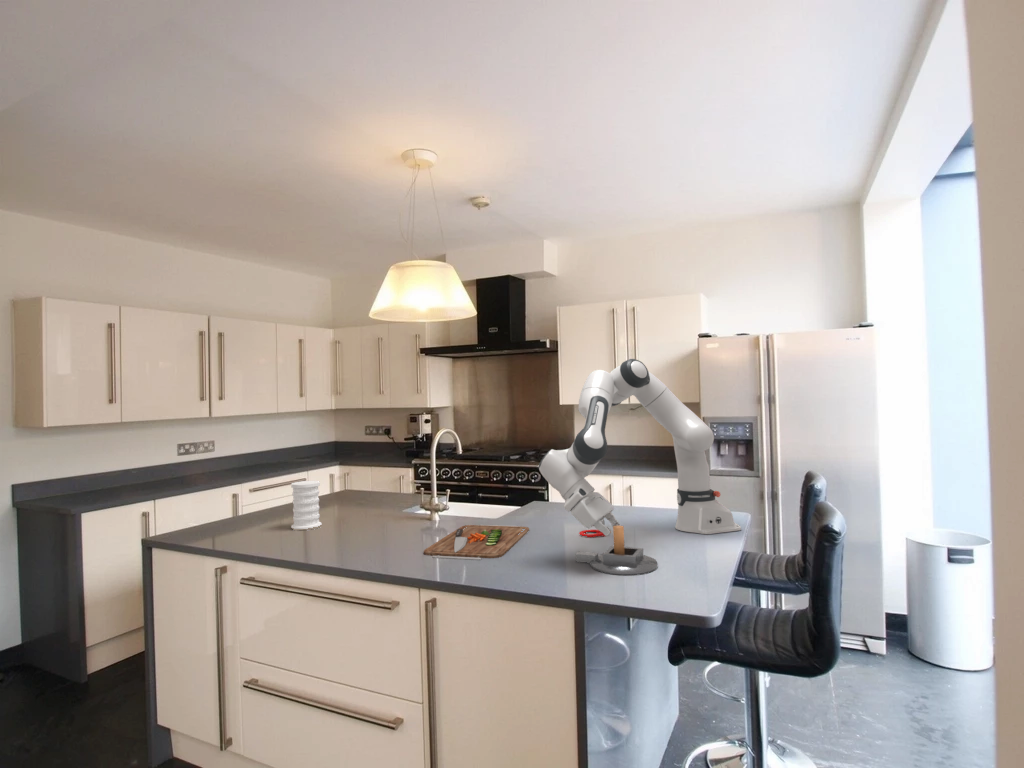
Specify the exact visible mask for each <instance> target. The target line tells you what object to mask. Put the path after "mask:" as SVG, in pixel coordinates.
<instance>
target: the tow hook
mask: <svg viewBox="0 0 1024 768" xmlns="http://www.w3.org/2000/svg"><path fill="white" fill-rule="evenodd" d="M601 522H602V524H603V525H605V519H604V518H603V519H602V520H601ZM605 526H606V525H605ZM586 532H596V533H590V534H589V533H586ZM584 533H585V534H584ZM579 534H580V535H582V536H587V537H586V538H597V537H604V536H605V535H604V534H603V533H602V532H601V531H599V530H598V529H584V530H581V531H579V533H578V535H579ZM580 535H579V536H580ZM582 536H581V537H582ZM596 536H597V537H596ZM605 537H606V536H605Z"/></svg>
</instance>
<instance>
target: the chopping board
mask: <svg viewBox="0 0 1024 768" xmlns="http://www.w3.org/2000/svg"><path fill="white" fill-rule="evenodd" d="M466 527H467V528H466ZM464 528H465V529H464ZM463 529H464V530H463ZM522 529H525V530H524V531H523V530H522ZM521 531H523V532H521ZM528 531H530V528H529V527H527V526H519V525H500V524H498V525H497V524H492V525H491V524H468V525H466V524H465V525H462V526H460V527H458V528H457V529H455V530H454V531H452V532H450V533H449V534H447V535H446V536H444V537H442V538H441V539H439V540H437V541H436V542H435V543H433V544H431V545H429V546H428V547H426V548H425V549H424V550H423V555H425V556H430V557H431V556H432V559H448V560H449V559H450V560H451V559H452V560H469V561H470V560H471V561H481V560H482V559H497V558H502V557H504V555H506V554H507V553H508V552H509V551H510V550H511V549H512V548H513V547H514V546H515V545H516V544H517V543H518V542H519V541H520V540H522V538H523V537H525V536H526V535H527V534H528V533H529V532H528ZM527 532H528V533H527ZM519 533H520V534H519ZM518 534H519V535H518Z"/></svg>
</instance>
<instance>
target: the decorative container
mask: <svg viewBox="0 0 1024 768" xmlns="http://www.w3.org/2000/svg"><path fill="white" fill-rule="evenodd" d="M320 484H321V482H320V481H319V480H302V481H296V482H291V484H290V486H291V488H292V492H291V493H292V494H291V495H292V497H293V499H292V504H293V507H292V511H293V517H292V520H293V524H291V528H294V529H308V528H313V527H318V526H320V525H322V524H323V523H322V522H321V521H320V517H321V514H320V513H319V512H320V505H319V504H320V503H319V502H320V498H319V493H320V490H319V486H320ZM322 526H323V525H322Z"/></svg>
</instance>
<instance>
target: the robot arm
mask: <svg viewBox="0 0 1024 768" xmlns="http://www.w3.org/2000/svg"><path fill="white" fill-rule="evenodd" d="M632 396H634V397H635V398H636V400H637V401H638V402H639V403H640V404H641V406H642V407H643V408H644V409H645V410H646V411H647V412H648V413H649V415H651V417H653V419H655V421H656V422H657V423H658V424H659V425H660V426H662V427H663V428H664V429H665V430H666V431H667V432H668V433H669V434H671V437H672V441H673V449H674V455H675V461H676V462H675V463H676V468H677V470H676V471H677V490H676V494H677V495H676V502H677V504H678V505H677V516H676V523H675V526H674V528H675V529H676V530H678V531H681V532H686V533H695V534H702V535H712V534H721V533H729V532H737V531H741V530H742V526H741V525H739V524H738V523H736V522H735V520H734V516H733V513H732V511H731V510H730V509H729V508H727V507H726V506H725V505H724V504H723V503H721V502H719V501H718V500H717V499H716V498H720V497H721V493H720V491H719V490H718V491H717V490H713V489H711V482H710V481H711V479H710V478H711V477H710V475H711V474H710V465H709V463H708V460H707V456H706V455H707V454H706V451H707V450H709V449H710V448H711V447H712V445H713V444H714V441H715V436H714V431H713V430H712V428H710V426H708V425H707V424H706V423H705V421H703V420H702V419H701V418H700V417H699V416H698V415H697V414H696V413H695V412H694V411H692V410H691V409H690V408H689V407H688V406H686V404H685V403H683V402H682V401H681V400H680V399H679V398H678V397H677V396H676V395H675V394H674V392H672V391H671V389H669V386H667V385H666V384H665V383H664V382H663V381H662V380H660V379H659V378H658V377H657V376H656V375H654V373H652V372H651V371H649V370H648V368H647V366H646V364H645V363H643V362H642V361H640V360H639V359H636V358H629V359H627V360H624V361H622V362H621V364H619V365H618V366H616V367H615V368H613V369H612V370H611V371H610V372H608V371H607V370H603V369H595V370H592V372H590V373H589V374H588V376H587V377H586V379H585V381H584V384H583V385H582V388H581V392H580V395H579V399H578V411H579V414H580V415H581V416H582V417H583V418H584V419H585V422H584V426H583V428H582V429H581V430H579V432H578V433H577V434H576V436H575V439H574V440H573V442H572V444H571V446H570V447H569V448H566V449H557V450H556V449H553V448H551V449H550V450H548V451H547V452H546V453H545V454H544V455H543V457H542V459H541V460H540V462H539V463H538V464H539V465H538V470H539V472H540V474H541V475H542V477H543V478H544V479H545V481H547V483H548V484H549V485H550V486H551V487H552V489H555V490H556V491H557V492H559V493H558V494H560V496H561V498H562V499H563V500H564V505H563V508H564V509H565V510H566V511H567V512H568V513H569V512H570V513H571V515H572V516H573V518H575V519H576V520H577V521H578V522H579V523H580V524H581V525H582V526H584V527H585V528H587V530H590V529H591V528H592V527H594V528H595V530H599V531H601V532H602V533H603V534H604V535H605V537H608V536H609V535H610V534H611V533H612V530H611V529H610V528H609V527H608V526H606V525H603V524H602V522H601V520H602V519H603V518H605V519H606V520H608V521H609V523H610V524H611V526H612V527H613V526H621V523H620V522H619V521H618V519H617V518H616V516H615V515H614V513H613V511H614V509H615V508H614V505H613V504H612V503H611V502H610V501H609V500H608V499H606V498H605V497H604V495H602V494H601V493H600V492H598V491H597V492H596V491H595V489H596V488H594V487H593V486H592V484H591V483H590V482H588V480H587V479H586V478H587V477H588V476H589V475H590V474H592V472H593V471H594V469H595V468H596V467H597V465H598V464H599V463H600V461H601V460H602V459H603V458H604V457H605V456H606V454H607V453H608V441H607V438H606V425H607V419H608V415H609V414H610V412H611V411H610V410H611V408H612V407H616V406H617V405H620V404H621V403H622V402H624V401H626V400H627V399H629V398H631V397H632Z"/></svg>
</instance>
